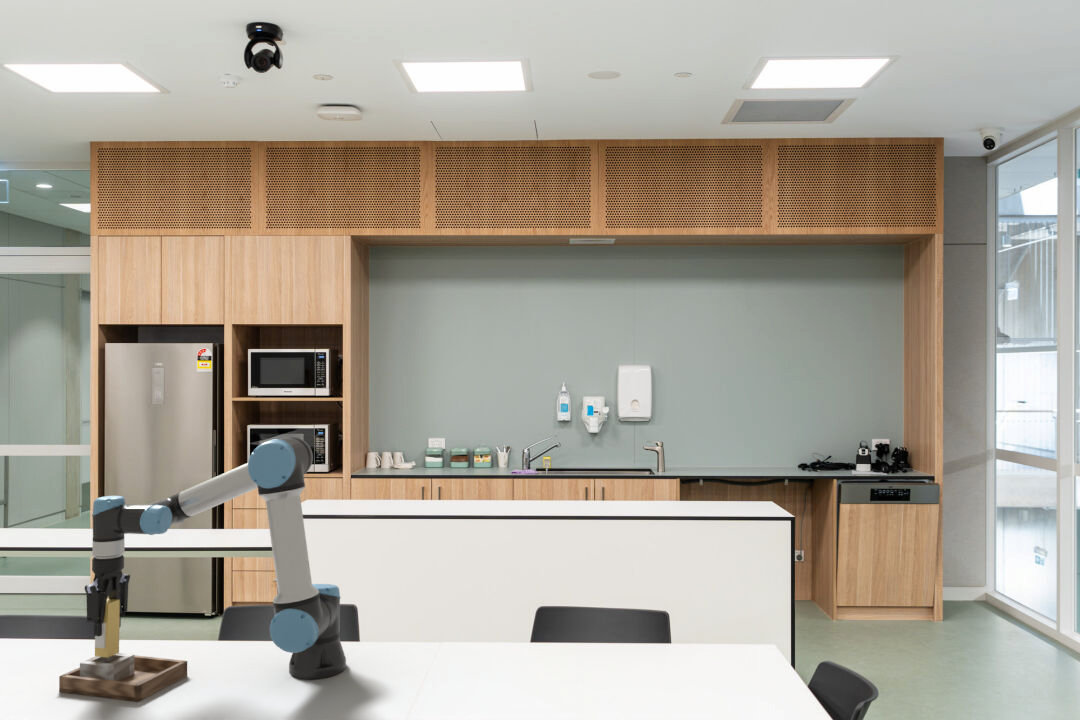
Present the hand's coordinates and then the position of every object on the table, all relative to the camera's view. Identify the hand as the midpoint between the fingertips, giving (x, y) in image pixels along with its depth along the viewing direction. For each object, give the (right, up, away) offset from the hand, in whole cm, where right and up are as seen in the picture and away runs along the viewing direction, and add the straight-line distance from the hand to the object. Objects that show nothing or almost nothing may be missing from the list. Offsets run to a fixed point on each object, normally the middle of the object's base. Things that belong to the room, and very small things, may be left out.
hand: (107, 644), depth 218 cm
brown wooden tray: (+5, -10, -2) cm, 11 cm away
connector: (0, -3, 0) cm, 3 cm away
